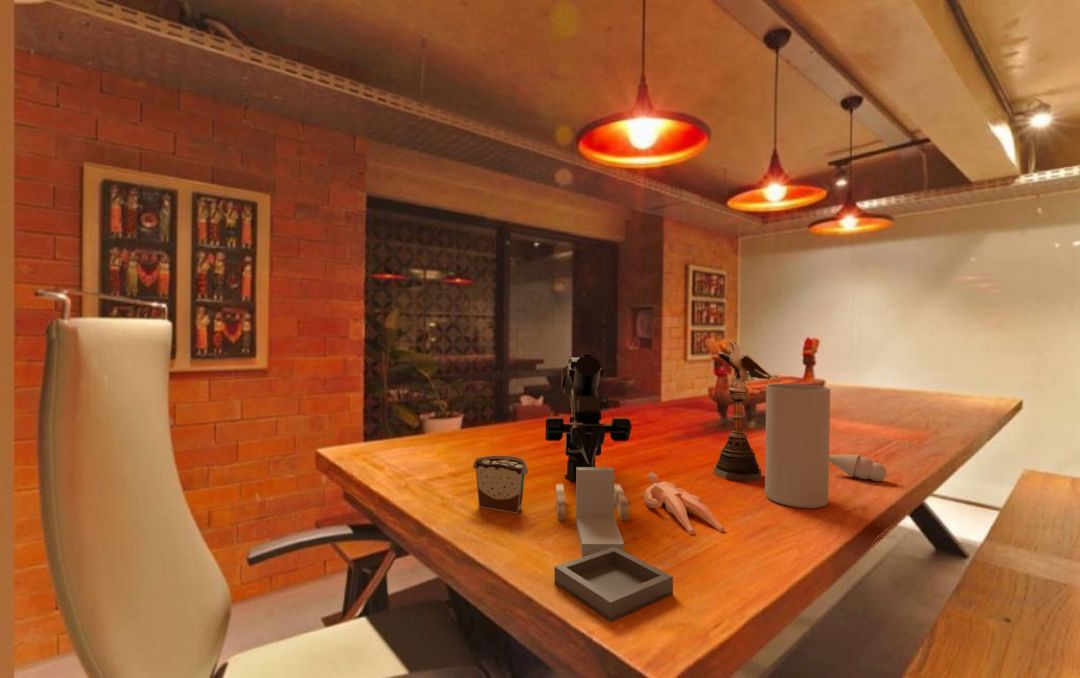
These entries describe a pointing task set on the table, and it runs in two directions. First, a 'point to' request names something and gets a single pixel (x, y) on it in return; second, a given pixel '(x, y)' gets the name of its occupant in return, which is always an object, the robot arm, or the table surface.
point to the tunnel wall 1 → (560, 502)
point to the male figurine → (678, 503)
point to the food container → (500, 482)
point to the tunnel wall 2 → (621, 502)
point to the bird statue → (740, 421)
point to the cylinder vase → (797, 445)
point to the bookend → (596, 510)
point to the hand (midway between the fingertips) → (590, 463)
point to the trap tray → (613, 582)
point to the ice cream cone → (859, 466)
